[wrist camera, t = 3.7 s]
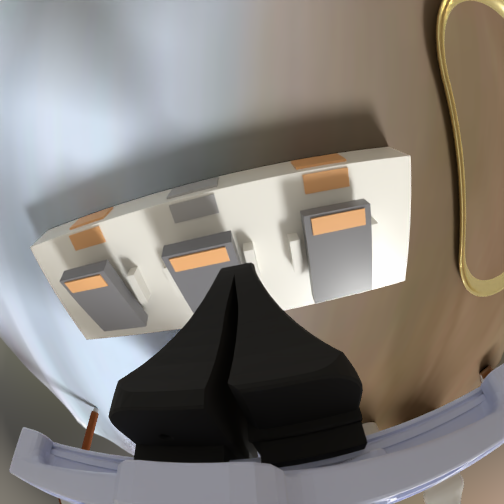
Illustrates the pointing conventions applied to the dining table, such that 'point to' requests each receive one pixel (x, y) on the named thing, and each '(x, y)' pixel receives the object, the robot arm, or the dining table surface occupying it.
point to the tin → (485, 373)
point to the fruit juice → (445, 491)
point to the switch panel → (234, 231)
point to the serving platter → (502, 3)
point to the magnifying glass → (87, 438)
